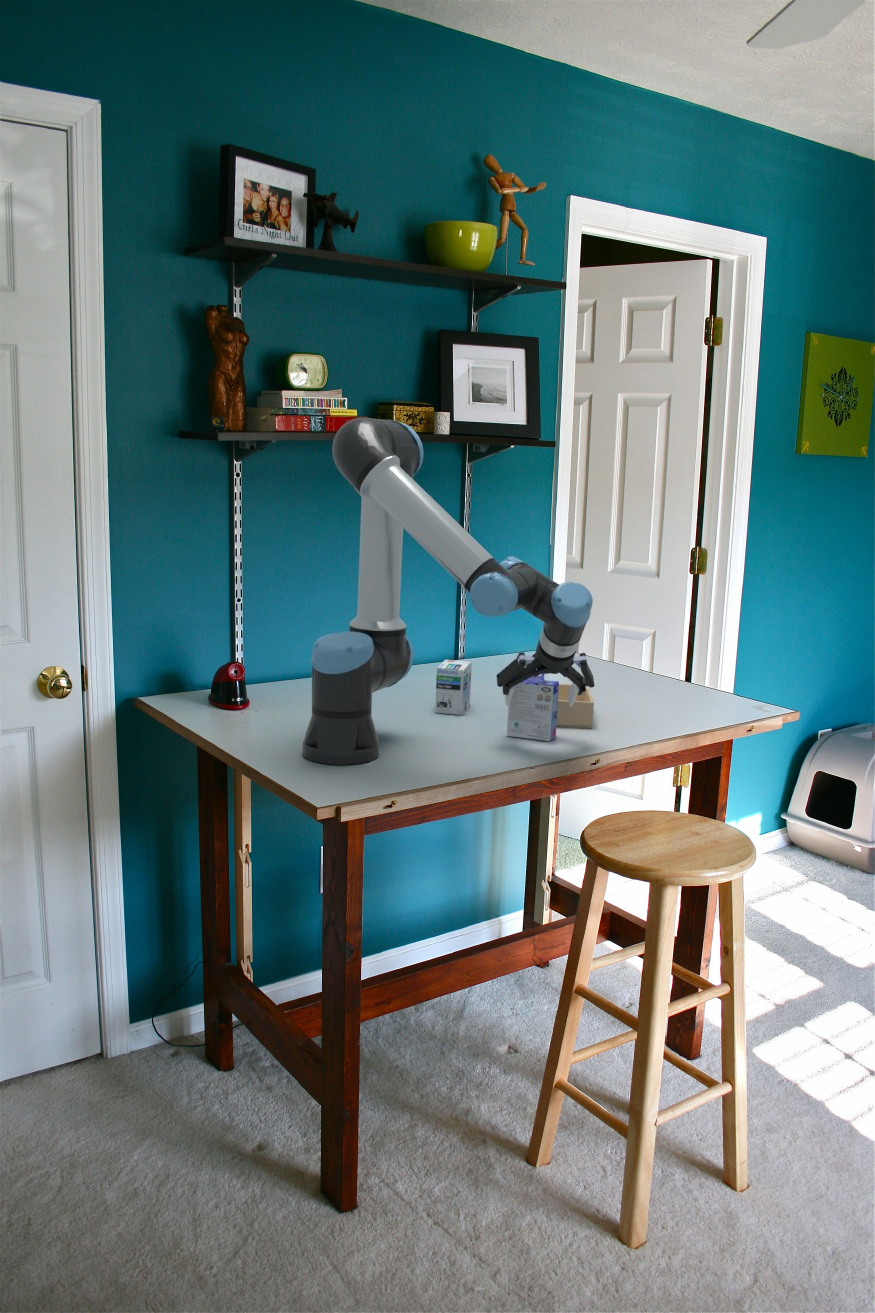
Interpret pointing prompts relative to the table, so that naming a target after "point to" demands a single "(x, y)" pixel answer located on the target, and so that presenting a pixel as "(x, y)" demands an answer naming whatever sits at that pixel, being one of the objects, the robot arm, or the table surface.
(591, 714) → the open tan box
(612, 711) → the table surface
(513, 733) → the ink cartridge box
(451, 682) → the light bulb box
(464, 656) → the table surface
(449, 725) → the table surface
